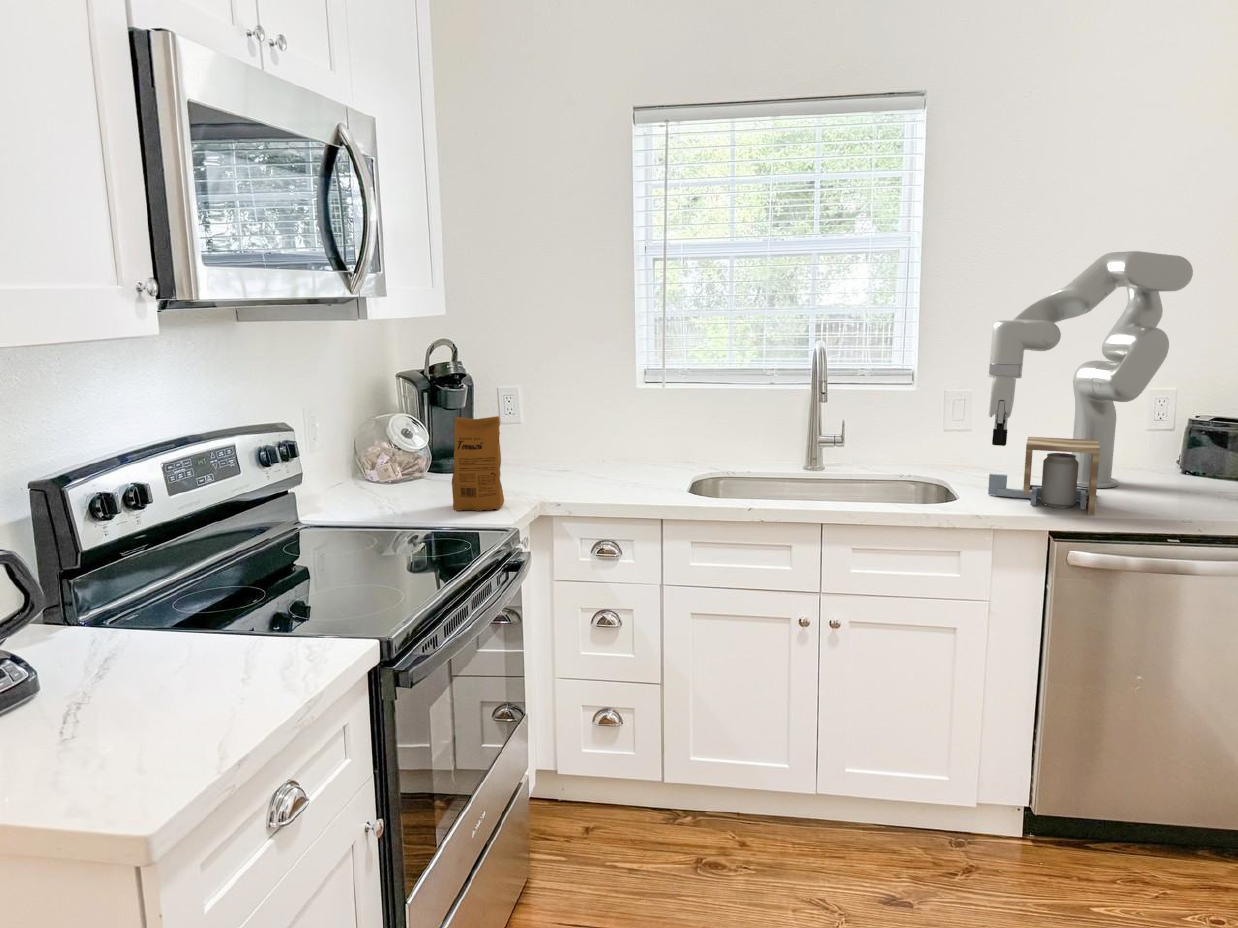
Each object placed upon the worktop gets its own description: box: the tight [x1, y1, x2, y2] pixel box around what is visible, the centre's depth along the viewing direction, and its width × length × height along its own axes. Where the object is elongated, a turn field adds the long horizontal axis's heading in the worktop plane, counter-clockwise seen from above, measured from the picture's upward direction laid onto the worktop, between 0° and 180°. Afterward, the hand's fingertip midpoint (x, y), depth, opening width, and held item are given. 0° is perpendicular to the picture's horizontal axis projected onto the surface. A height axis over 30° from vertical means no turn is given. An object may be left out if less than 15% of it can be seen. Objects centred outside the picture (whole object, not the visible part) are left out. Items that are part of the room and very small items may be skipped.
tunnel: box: [1022, 436, 1100, 516], centre depth 216 cm, size 12×15×15 cm
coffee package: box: [451, 415, 505, 512], centre depth 223 cm, size 10×12×22 cm
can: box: [1040, 452, 1079, 508], centre depth 218 cm, size 8×8×12 cm
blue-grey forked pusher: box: [987, 473, 1087, 510], centre depth 222 cm, size 10×21×5 cm, turn 65°
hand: (999, 444), depth 233 cm, fingers closed
